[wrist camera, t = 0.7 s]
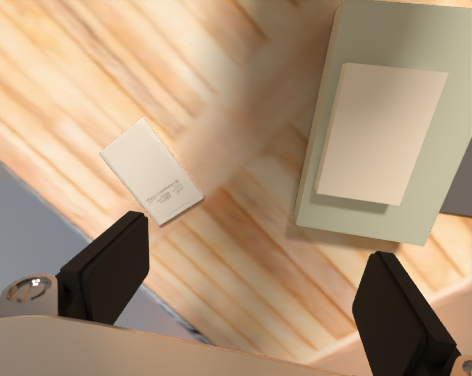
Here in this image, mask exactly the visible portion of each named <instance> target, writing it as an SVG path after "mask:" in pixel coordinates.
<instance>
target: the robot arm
mask: <svg viewBox="0 0 472 376" xmlns="http://www.w3.org/2000/svg"><path fill="white" fill-rule="evenodd" d="M148 272H149V235H148V218H147V217H145V215H144V213H141V212H135V211H129V212H127V213H126V214H125V215H124V216H123V217H121V218H120V219H119V220H118V221H117V222H115V223H114V224H113V225H112V226H111V227H109V228H108V229H107V230H106V231H105V232H104V233H102V234H101V235H100V236H99V237H98V238H96V239H95V240H94V241H93V242H92V243H90V244H89V245H88V246H87V247H86V248H85V249H83V250H82V251H81V252H80V253H79V254H77V255H76V256H75V257H74V258H73V259H72V260H70V261H69V262H68V263H67V264H66V265H64V266H63V267H62V268H61V269H60V272H59V273H58V274H57V275H56V276H55V277H54V276H53V275H51V274H47V273H45V274H44V273H39V274H32V275H29V276H26V277H23V278H21V279H18V280H16V281H14V282H13V283H11V284H10V285H8V286H7V287H6V288H5V289H4V290H3V291H2V293H1V295H0V376H354V375H349V374H345V373H340V372H335V371H331V370H326V369H321V368H317V367H312V366H308V365H303V364H298V363H294V362H289V361H284V360H280V359H275V358H270V357H265V356H261V355H256V354H251V353H246V352H241V351H237V350H232V349H227V348H222V347H217V346H213V345H208V344H203V343H198V342H193V341H188V340H184V339H178V338H173V337H169V336H163V335H159V334H154V333H149V332H144V331H139V330H134V329H129V328H124V327H118V326H113V324H114V323H115V321H116V320H117V318H118V317H119V315H120V314H121V313H122V311H123V310H124V308H125V307H126V305H127V304H128V302H129V301H130V300H131V298H132V297H133V295H134V294H135V292H136V291H137V289H138V288H139V286H140V285H141V284H142V282H143V281H144V279H145V278H146V276H147V275H148ZM352 313H353V316H354V319H355V322H356V325H357V328H358V331H359V334H360V337H361V340H362V343H363V346H364V350H365V353H366V356H367V359H368V361H369V365H370V368H371V371H372V374H373V376H472V356H470V355H461V353H460V352H459V350H458V349H457V348H456V346H457V344H456V342H455V341H454V340H453V338H452V337H451V335H450V334H449V332H448V331H447V330H446V328H445V327H444V325H443V324H442V322H441V321H440V319H439V318H438V317H437V315H436V314H435V312H434V311H433V309H432V308H431V306H430V305H429V304H428V302H427V301H426V299H425V298H424V296H423V295H422V294H421V292H420V291H419V289H418V288H417V286H416V285H415V283H414V282H413V281H412V279H411V278H410V276H409V275H408V273H407V272H406V270H405V269H404V268H403V266H402V265H401V263H400V262H399V260H398V259H397V258H396V256H395V255H394V254H393V253H388V252H382V251H376V252H375V254H371V255H370V256H369V259H368V262H367V265H366V267H365V270H364V273H363V276H362V279H361V282H360V285H359V288H358V291H357V293H356V296H355V299H354V302H353V305H352Z"/></svg>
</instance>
